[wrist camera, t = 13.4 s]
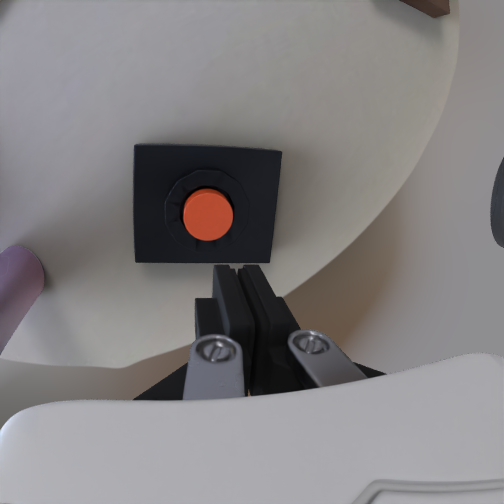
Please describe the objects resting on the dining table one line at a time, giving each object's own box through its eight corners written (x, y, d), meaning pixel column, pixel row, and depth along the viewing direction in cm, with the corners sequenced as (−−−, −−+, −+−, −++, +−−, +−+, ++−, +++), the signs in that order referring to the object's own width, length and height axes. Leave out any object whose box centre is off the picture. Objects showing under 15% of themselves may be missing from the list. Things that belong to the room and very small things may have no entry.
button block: (275, 149, 27) (289, 153, 23) (264, 254, 31) (275, 271, 27) (138, 143, 24) (130, 145, 21) (138, 253, 28) (132, 271, 24)
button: (231, 189, 24) (235, 193, 22) (228, 233, 25) (231, 241, 24) (184, 187, 23) (184, 192, 22) (183, 233, 24) (183, 240, 23)
